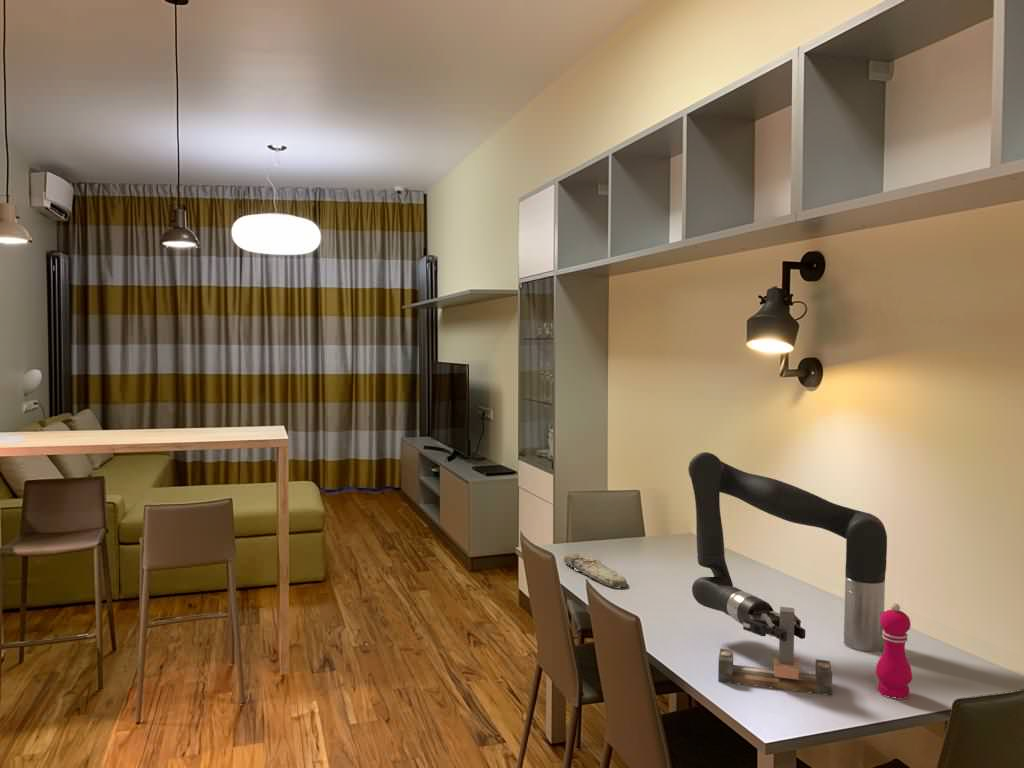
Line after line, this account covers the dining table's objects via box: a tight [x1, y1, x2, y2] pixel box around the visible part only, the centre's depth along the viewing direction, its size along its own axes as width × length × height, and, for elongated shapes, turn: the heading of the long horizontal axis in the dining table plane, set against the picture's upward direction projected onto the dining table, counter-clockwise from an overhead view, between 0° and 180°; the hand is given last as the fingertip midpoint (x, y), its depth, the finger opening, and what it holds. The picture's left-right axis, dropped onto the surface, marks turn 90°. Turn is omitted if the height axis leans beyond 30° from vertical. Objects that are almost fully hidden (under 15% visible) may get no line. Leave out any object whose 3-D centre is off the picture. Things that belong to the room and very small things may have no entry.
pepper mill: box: [875, 602, 913, 699], centre depth 174 cm, size 7×7×20 cm
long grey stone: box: [563, 552, 628, 589], centre depth 264 cm, size 35×5×10 cm
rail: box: [717, 648, 833, 696], centre depth 180 cm, size 24×7×5 cm, turn 72°
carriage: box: [773, 606, 800, 679], centre depth 179 cm, size 5×6×14 cm
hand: (794, 635), depth 176 cm, fingers closed on carriage, 4 cm apart
